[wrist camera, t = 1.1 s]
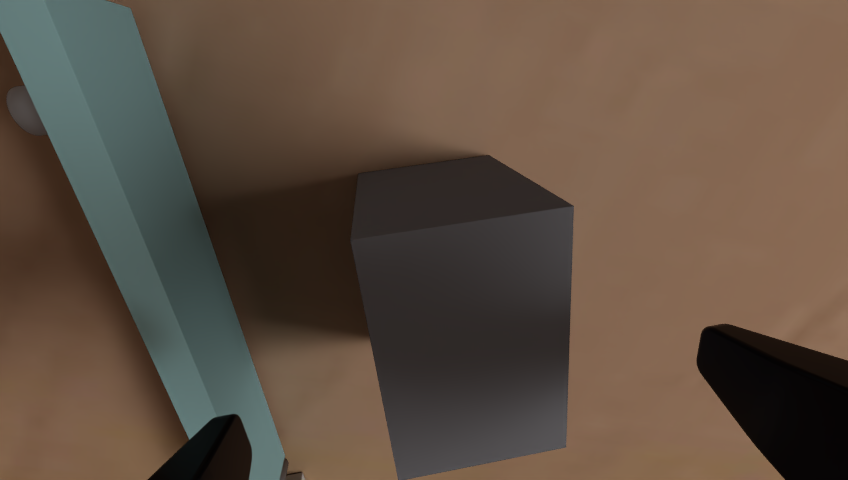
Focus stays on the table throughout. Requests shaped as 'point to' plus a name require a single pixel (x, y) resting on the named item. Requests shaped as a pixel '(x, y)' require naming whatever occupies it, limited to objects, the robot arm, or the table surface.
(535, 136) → the table surface
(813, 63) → the table surface
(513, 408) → the gray rectangular block
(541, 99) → the table surface
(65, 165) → the door
